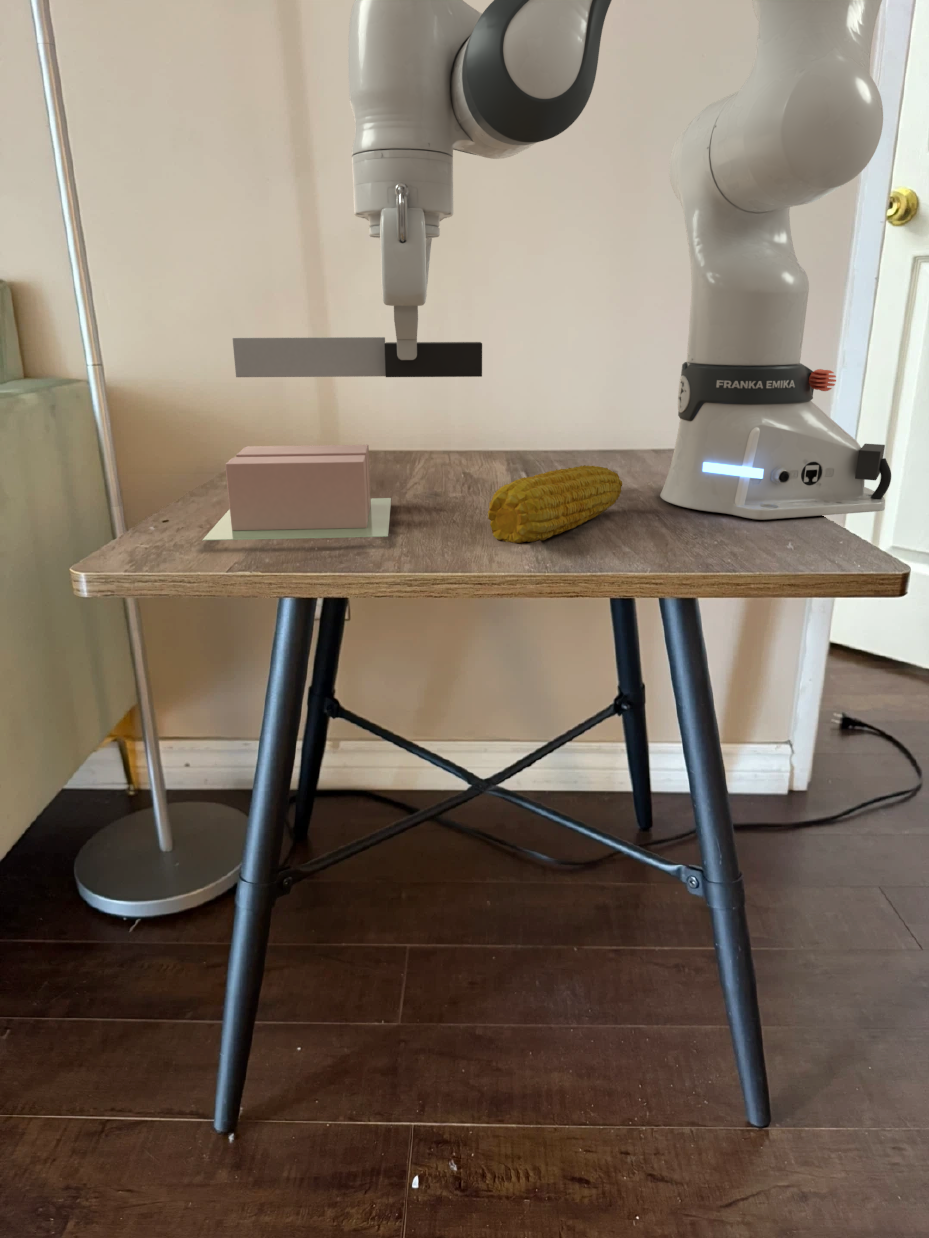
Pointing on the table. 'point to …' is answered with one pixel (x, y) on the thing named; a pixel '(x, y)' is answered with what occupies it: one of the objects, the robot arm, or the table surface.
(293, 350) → the knife
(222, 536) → the plate
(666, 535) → the table surface
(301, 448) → the pink rectangular block
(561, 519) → the food
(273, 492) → the dusty pink brick
